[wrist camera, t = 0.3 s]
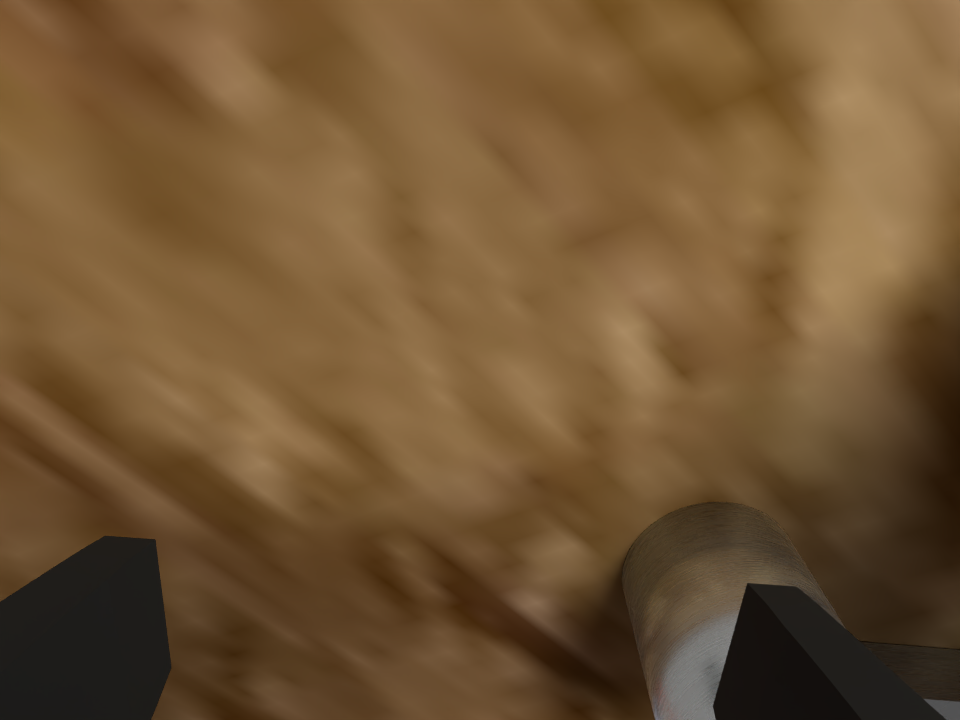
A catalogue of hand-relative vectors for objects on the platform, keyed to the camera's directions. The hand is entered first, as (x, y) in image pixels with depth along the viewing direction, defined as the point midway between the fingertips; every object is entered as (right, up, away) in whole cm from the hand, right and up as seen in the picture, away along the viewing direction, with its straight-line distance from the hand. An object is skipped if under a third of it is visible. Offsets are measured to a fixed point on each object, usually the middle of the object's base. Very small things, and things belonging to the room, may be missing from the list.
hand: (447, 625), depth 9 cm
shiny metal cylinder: (+7, -3, +12) cm, 14 cm away
